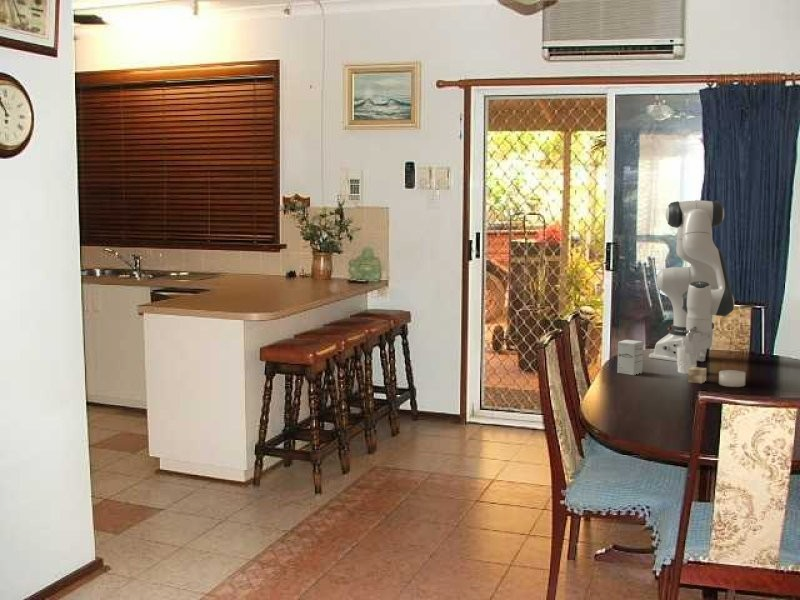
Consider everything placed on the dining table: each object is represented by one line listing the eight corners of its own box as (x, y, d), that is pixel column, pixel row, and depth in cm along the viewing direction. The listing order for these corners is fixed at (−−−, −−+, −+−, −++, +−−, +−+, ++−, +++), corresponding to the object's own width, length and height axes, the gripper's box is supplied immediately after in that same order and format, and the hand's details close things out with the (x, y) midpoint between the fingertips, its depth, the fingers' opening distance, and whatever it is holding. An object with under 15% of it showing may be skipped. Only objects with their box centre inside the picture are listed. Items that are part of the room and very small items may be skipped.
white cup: (698, 371, 346) (699, 346, 345) (696, 374, 339) (696, 349, 338) (677, 369, 349) (678, 345, 348) (674, 373, 342) (675, 348, 341)
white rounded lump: (715, 385, 320) (715, 373, 320) (723, 381, 327) (723, 369, 327) (741, 388, 315) (741, 375, 314) (748, 383, 322) (748, 371, 321)
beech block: (688, 382, 326) (688, 368, 326) (692, 379, 330) (693, 366, 329) (701, 383, 323) (702, 370, 323) (706, 381, 327) (706, 368, 326)
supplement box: (616, 373, 344) (617, 341, 343) (626, 370, 349) (626, 339, 348) (633, 375, 339) (634, 343, 338) (643, 372, 344) (643, 341, 343)
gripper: (698, 329, 314) (697, 367, 315) (715, 323, 330) (715, 359, 331) (680, 328, 318) (679, 366, 319) (699, 322, 334) (698, 358, 335)
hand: (698, 362), depth 325 cm, fingers open, 8 cm apart
